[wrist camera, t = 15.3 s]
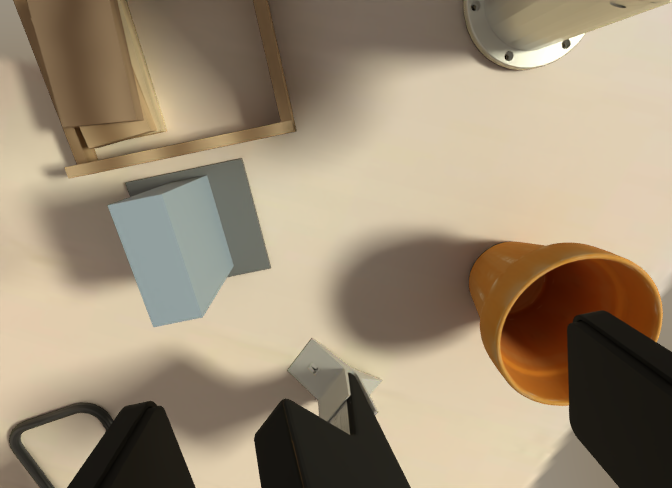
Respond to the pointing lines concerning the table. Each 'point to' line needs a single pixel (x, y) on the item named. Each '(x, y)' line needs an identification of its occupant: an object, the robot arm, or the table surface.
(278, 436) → the award
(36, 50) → the wooden frame
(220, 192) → the mat
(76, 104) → the offcut stack
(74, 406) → the chair
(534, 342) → the flower pot
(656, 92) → the table surface
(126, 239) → the rectangular block
